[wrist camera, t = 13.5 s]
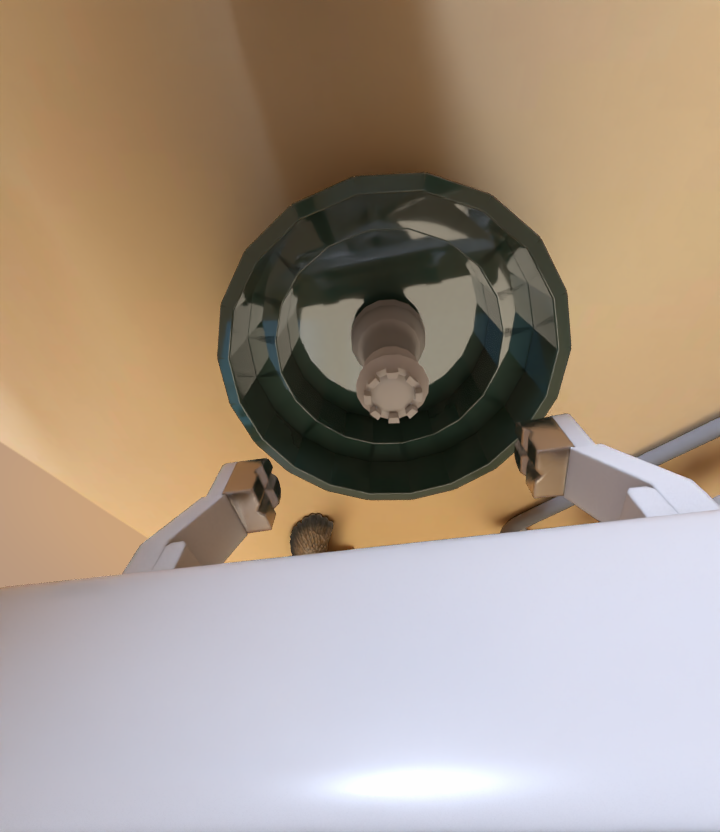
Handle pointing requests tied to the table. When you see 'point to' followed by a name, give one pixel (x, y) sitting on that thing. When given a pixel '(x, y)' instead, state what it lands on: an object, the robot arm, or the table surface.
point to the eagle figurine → (311, 535)
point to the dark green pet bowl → (442, 318)
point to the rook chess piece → (390, 359)
